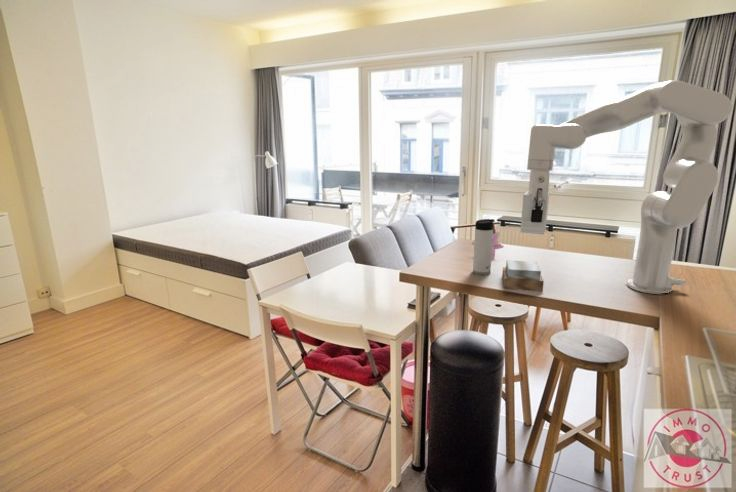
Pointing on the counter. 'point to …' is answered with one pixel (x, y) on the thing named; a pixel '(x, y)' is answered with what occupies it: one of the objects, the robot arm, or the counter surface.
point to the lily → (494, 244)
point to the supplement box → (526, 216)
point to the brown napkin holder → (522, 276)
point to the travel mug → (483, 246)
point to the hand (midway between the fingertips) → (534, 219)
